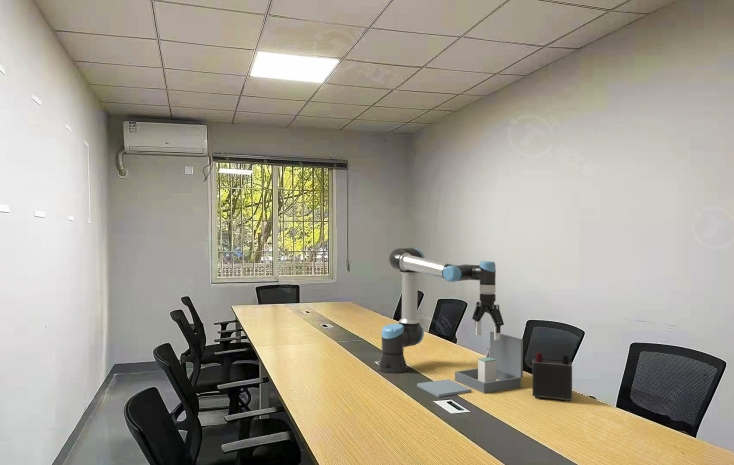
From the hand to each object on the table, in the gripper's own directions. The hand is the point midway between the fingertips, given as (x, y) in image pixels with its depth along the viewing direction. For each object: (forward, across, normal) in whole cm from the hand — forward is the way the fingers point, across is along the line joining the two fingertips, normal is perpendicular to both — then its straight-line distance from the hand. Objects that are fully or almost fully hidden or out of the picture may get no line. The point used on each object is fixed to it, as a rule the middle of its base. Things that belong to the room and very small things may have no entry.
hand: (487, 337), depth 239 cm
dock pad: (+22, +2, +24) cm, 33 cm away
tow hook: (+23, +18, -15) cm, 33 cm away
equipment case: (+22, 0, 0) cm, 23 cm away
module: (+22, 0, 0) cm, 23 cm away
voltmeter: (+23, -26, -15) cm, 38 cm away
